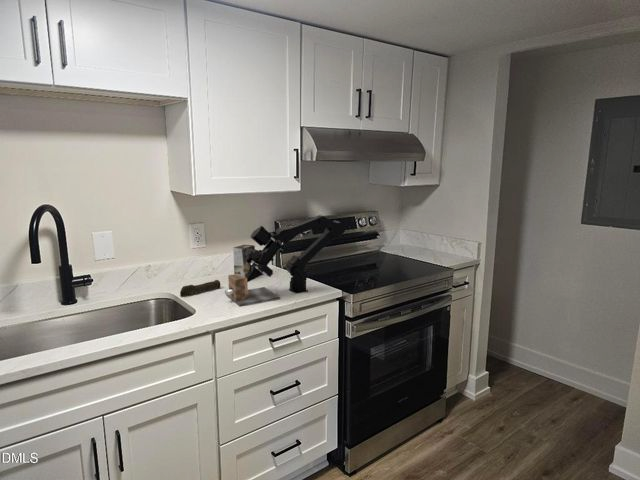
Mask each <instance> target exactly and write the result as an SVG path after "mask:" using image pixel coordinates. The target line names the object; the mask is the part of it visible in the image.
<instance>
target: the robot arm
mask: <svg viewBox="0 0 640 480" xmlns="http://www.w3.org/2000/svg"><path fill="white" fill-rule="evenodd" d="M320 226H322V227H325V229H324V231H323V232H322V234H321V235H320V236H319V237H318V238H317V239H316V240H315V241H313V243H311V245H309V246H308V247H307V248H306V249H305V250H304V251H303V252H302V253H300V255H298V256H297V255H295V254H293V255H292V256H291V258H290V259H288V260H287V262H286V265H285V269H286V271H287V273H289V274H290V276H291V277H290V281H289V288H288V290H289V291H291V292H292V293H294V294H300V293H305V292H307V293H308V292H309V290H308V289H307V279H308V276H309V275H308V273H307V272H305V270H306V267H307V265H308V263H309V262H310V261H311V260H313V258H314V257H315V256H316V255H318V253H319V252H320V251H321V250H323V249H324V248H325V247H326V246H327V245H328V244H329V243H330V242H331V241H333V240H336V239H337V238H339V237H341V236H342V235H344V233H346V226H345V224H344V223H343V222H340V221H338V220H331V219H329V218H327V217H326V216H324V215H323V214H322V215H321V214H319V215H317V216H315V217H312V218H310V219H308V220H304V221H303V222H299V223H297V224H295V225H289V226H288V225H287V226H281V227H279V228H277V229H276V230H273V231H270V232H269V231H268V230H267V229H266V228H265V227H264V226H263V225H260V226H259V227H257V228H255V230H253V231H252V233H251V234H250V238H251V240H252V241H254V242H256V244H258V245H259V246H261V247H262V246H264V247H263V248H262V249H256V248H255V249H254V250H251V249H248V248H246V251H245V254H244V255H245V256H246V257H245V259H244V260H245V261H246V262H247V263H248V265H249V270H248V273H247V276H246V278H247V283H249V282H251V281H253V280H255V279H256V278H259V277H261V276H264V275H265V274H266V276H267V277H270V278H271V277H272V275H273V274H274V270H273V269H271V268H270V267H269V264H270V262H273V261H275V259H274V257H275V256H276V255H277V253H278V252H279V251H282V252H285V251H286V247H285V244H287V243H289V242H290V241H292V240H294V239H295V238H296V237H297V236H299V235H301V234H303V233H306V232H308V231H310V230H313V229H316V228H317V227H318V228H319V227H320ZM280 242H281V243H280ZM264 273H265V274H264Z"/></svg>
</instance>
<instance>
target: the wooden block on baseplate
mask: <svg viewBox="0 0 640 480" xmlns="http://www.w3.org/2000/svg"><path fill="white" fill-rule="evenodd" d="M230 289H233V291H234V294H230V295H225V296H226V297H227V298H228V299H230V300H231V301H232V302H233V303H234V304H236V305H237V306H238V307H240V308H241V307H244V306H251V305H256V304H260V303H267V302H272V301H277V300H281V296H279V295H278V294H277V293H275V292H273V291H272V290H270V289H268V288H267V287H265V286H263V287H257V288H250V289H248V297H245V279H244V278H243V277H241V276H240V275H238V274H234V273H233V274H228V290H230Z"/></svg>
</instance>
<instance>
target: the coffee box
mask: <svg viewBox="0 0 640 480" xmlns="http://www.w3.org/2000/svg"><path fill="white" fill-rule="evenodd" d="M255 247H256V246H255V244H254V245H252V244H242V245H238V246H234V247H233V275H234V274H238V275H240V276H244V277H246V276H247V273H248V270H249V265H248V263H247V262H246V261H245V260H244V259H245V257H246V256H245V255H244V254H245V251H246V248H248V249H251V250H254V249H256V248H255Z"/></svg>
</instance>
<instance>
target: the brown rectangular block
mask: <svg viewBox="0 0 640 480" xmlns="http://www.w3.org/2000/svg"><path fill="white" fill-rule="evenodd" d="M241 277H243V278H244V279H245V297H248V290H249V289H248V288H249V287H248V282H247V278H246V277H244V276H241ZM224 294H225V296H226V295H230V294H234V291H233V289H230V290H229V289H226V290H224Z"/></svg>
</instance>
